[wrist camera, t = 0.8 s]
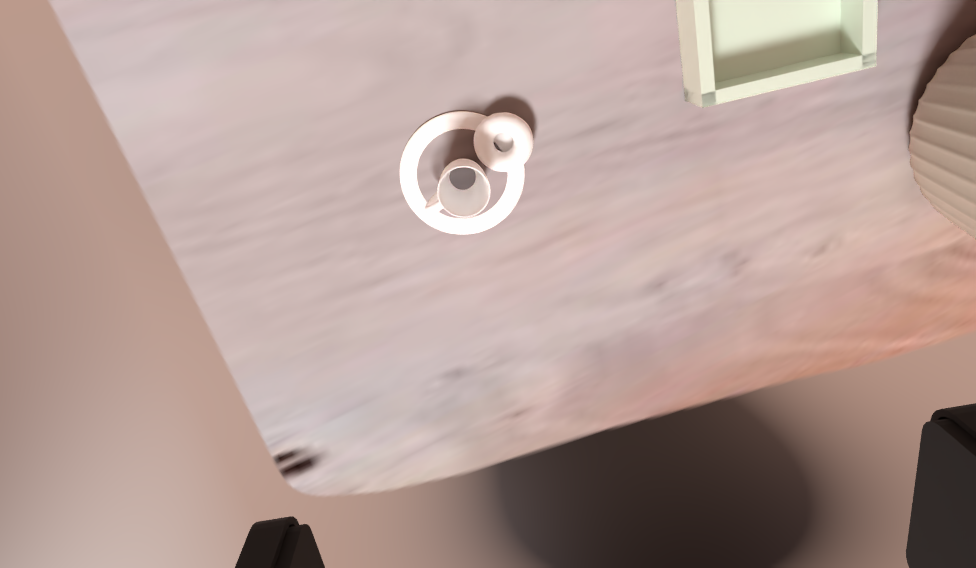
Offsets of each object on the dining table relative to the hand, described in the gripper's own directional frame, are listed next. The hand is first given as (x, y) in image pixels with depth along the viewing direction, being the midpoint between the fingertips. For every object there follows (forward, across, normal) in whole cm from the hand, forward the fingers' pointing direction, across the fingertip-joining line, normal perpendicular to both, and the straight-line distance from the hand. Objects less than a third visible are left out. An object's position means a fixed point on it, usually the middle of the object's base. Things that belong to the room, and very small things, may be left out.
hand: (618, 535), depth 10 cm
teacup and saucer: (+33, 0, +3) cm, 34 cm away
